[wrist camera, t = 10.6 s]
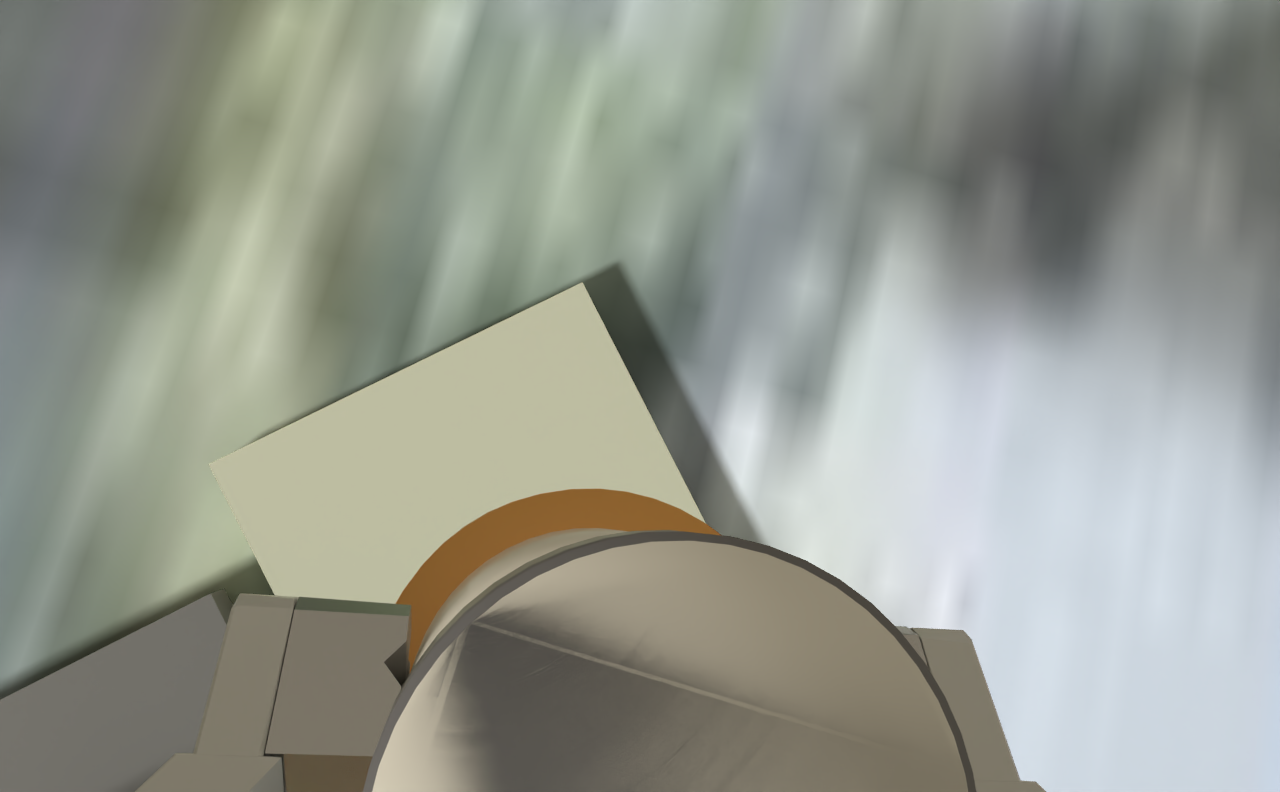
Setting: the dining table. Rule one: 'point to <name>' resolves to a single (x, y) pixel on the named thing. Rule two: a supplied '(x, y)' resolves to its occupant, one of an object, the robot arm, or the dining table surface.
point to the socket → (115, 707)
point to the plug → (652, 665)
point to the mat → (446, 453)
